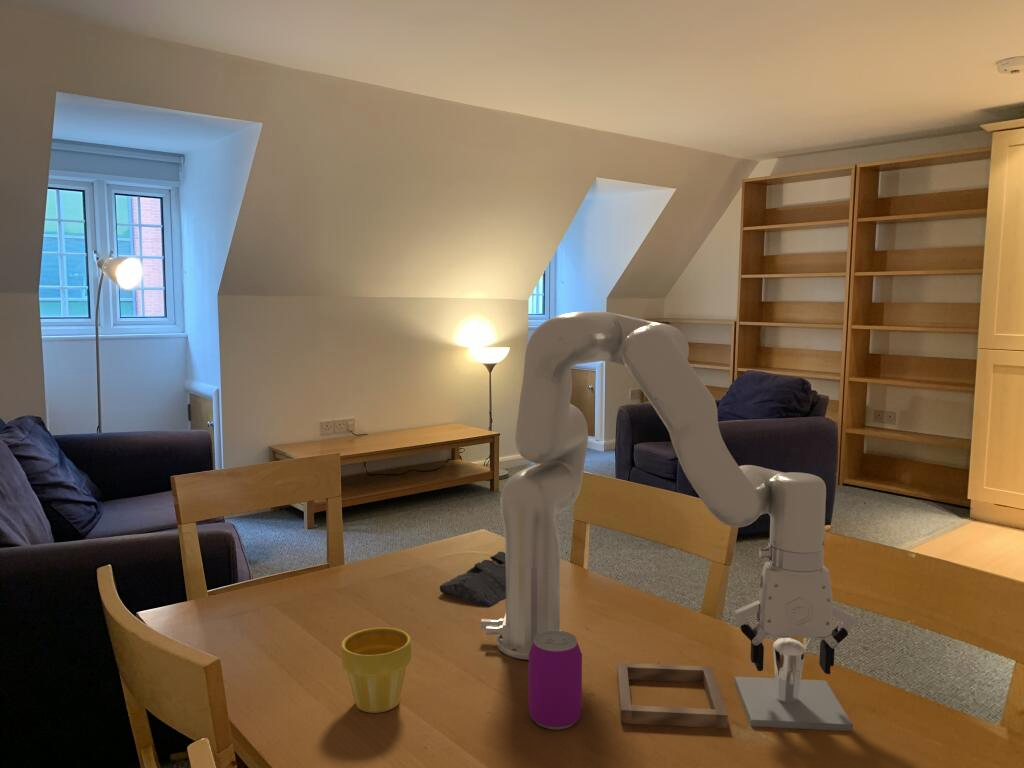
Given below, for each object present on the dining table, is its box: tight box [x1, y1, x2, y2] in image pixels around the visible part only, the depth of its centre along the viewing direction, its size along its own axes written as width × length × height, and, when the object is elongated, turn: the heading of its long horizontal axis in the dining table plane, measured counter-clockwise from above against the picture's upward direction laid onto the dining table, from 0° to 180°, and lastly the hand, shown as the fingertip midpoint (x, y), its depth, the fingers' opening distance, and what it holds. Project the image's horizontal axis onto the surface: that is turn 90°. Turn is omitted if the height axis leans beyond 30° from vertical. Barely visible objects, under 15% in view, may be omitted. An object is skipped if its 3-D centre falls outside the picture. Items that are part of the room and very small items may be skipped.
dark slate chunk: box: [439, 551, 506, 608], centre depth 169 cm, size 15×22×5 cm
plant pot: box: [340, 627, 412, 714], centre depth 119 cm, size 10×10×10 cm
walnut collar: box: [616, 662, 729, 729], centre depth 121 cm, size 15×15×2 cm
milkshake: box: [772, 637, 812, 704], centre depth 118 cm, size 4×5×10 cm
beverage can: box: [528, 630, 583, 730], centre depth 115 cm, size 8×8×12 cm
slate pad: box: [734, 676, 854, 732], centre depth 119 cm, size 14×13×1 cm
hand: (791, 668), depth 118 cm, fingers open, 9 cm apart
